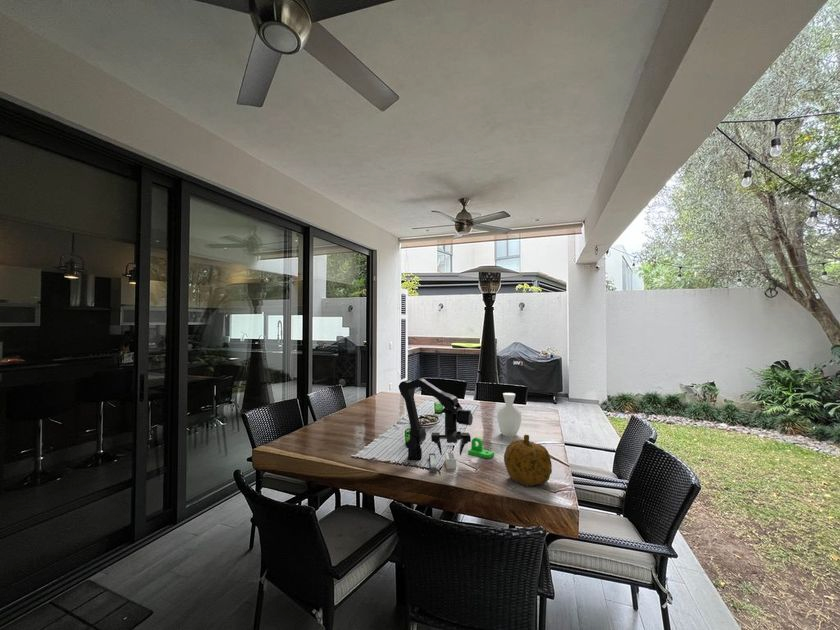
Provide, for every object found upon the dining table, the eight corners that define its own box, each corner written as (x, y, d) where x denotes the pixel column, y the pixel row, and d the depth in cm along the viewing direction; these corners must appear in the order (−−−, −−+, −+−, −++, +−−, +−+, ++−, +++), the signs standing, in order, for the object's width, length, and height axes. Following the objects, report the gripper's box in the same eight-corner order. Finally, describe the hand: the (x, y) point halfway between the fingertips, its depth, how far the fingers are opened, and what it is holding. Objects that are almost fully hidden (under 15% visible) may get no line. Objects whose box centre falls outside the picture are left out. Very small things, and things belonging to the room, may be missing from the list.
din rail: (430, 474, 160) (430, 468, 160) (429, 458, 178) (429, 453, 178) (436, 474, 160) (436, 468, 160) (435, 458, 178) (435, 453, 178)
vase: (496, 437, 213) (496, 395, 214) (498, 430, 227) (498, 391, 227) (521, 439, 209) (520, 397, 209) (521, 432, 222) (521, 392, 223)
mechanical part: (468, 454, 185) (468, 439, 185) (473, 451, 190) (473, 436, 190) (489, 459, 178) (489, 443, 179) (494, 455, 183) (494, 440, 184)
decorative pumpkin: (505, 490, 145) (505, 441, 146) (502, 469, 166) (502, 426, 166) (556, 494, 142) (556, 444, 142) (547, 473, 162) (547, 429, 163)
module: (446, 469, 166) (446, 458, 166) (445, 462, 174) (445, 452, 174) (456, 469, 166) (456, 458, 166) (454, 462, 174) (454, 452, 174)
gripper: (431, 427, 162) (431, 461, 162) (472, 427, 162) (472, 461, 162) (431, 420, 173) (431, 452, 173) (469, 420, 173) (469, 452, 173)
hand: (450, 455), depth 170 cm, fingers open, 9 cm apart
